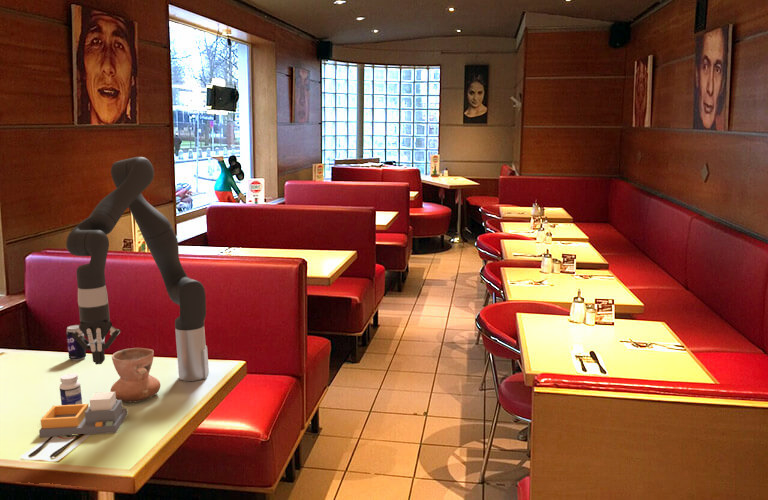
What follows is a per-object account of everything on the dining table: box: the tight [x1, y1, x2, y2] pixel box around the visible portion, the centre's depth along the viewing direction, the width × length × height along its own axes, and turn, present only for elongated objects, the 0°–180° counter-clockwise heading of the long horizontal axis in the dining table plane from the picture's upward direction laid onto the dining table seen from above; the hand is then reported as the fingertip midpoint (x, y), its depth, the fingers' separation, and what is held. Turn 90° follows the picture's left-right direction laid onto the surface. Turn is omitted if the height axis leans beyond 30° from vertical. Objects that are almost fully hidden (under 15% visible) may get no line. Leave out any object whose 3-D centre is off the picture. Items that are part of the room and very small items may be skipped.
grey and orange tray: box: [38, 400, 128, 438], centre depth 197 cm, size 20×12×6 cm, turn 95°
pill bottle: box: [59, 372, 83, 405], centre depth 210 cm, size 6×6×10 cm
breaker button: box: [89, 391, 116, 411], centre depth 197 cm, size 5×5×4 cm
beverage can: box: [65, 324, 87, 362], centre depth 254 cm, size 6×6×12 cm
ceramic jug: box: [110, 347, 161, 403], centre depth 217 cm, size 18×14×14 cm
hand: (99, 363), depth 195 cm, fingers closed
